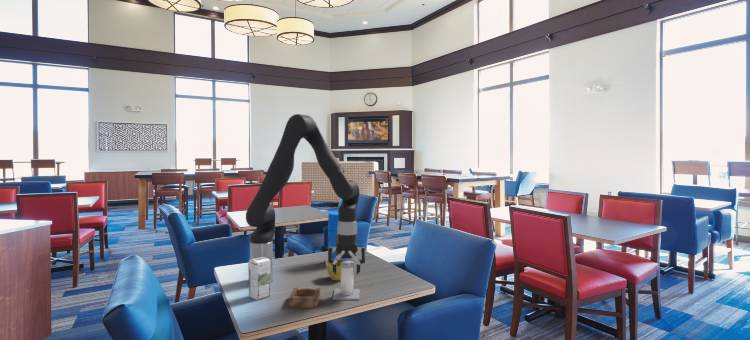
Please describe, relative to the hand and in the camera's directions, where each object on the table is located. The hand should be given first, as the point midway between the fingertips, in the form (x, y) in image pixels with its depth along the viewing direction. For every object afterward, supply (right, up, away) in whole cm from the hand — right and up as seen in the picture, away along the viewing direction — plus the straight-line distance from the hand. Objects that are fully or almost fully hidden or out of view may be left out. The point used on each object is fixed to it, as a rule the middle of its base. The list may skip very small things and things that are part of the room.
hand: (346, 273), depth 147 cm
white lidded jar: (0, -8, 0) cm, 8 cm away
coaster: (0, -9, 0) cm, 9 cm away
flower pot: (-5, -8, +19) cm, 21 cm away
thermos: (-7, -7, +43) cm, 44 cm away
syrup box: (-33, -8, -2) cm, 34 cm away
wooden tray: (-15, -9, -7) cm, 19 cm away
